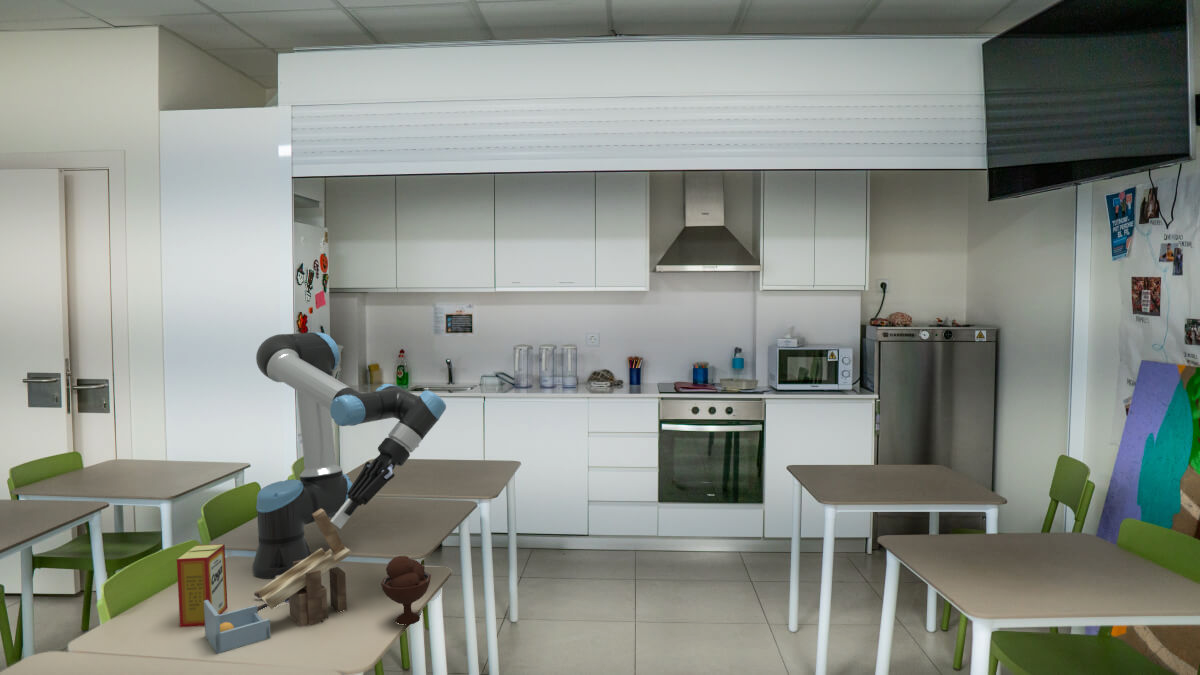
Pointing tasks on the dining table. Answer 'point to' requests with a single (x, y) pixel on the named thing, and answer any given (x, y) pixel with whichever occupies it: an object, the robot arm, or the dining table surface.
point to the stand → (318, 597)
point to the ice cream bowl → (405, 585)
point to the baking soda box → (201, 583)
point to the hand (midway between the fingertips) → (335, 524)
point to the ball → (226, 626)
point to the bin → (245, 627)
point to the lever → (306, 565)
